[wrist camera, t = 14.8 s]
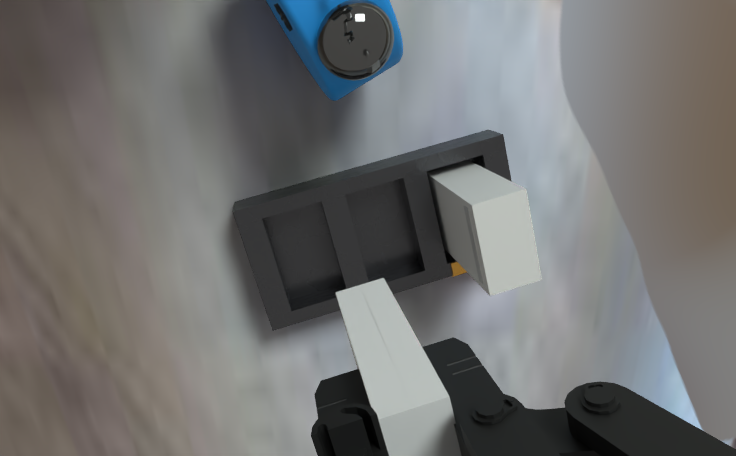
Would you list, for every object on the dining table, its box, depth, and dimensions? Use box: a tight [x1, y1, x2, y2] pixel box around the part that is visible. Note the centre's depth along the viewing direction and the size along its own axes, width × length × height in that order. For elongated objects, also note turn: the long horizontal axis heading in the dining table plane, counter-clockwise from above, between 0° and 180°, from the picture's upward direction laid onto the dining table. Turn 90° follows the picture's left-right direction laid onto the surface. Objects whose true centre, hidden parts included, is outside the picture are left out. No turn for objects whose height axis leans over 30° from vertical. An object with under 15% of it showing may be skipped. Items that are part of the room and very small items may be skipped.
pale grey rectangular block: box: [427, 161, 542, 296], centre depth 48 cm, size 7×4×12 cm, turn 14°
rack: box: [233, 130, 512, 330], centre depth 52 cm, size 11×23×4 cm, turn 104°
